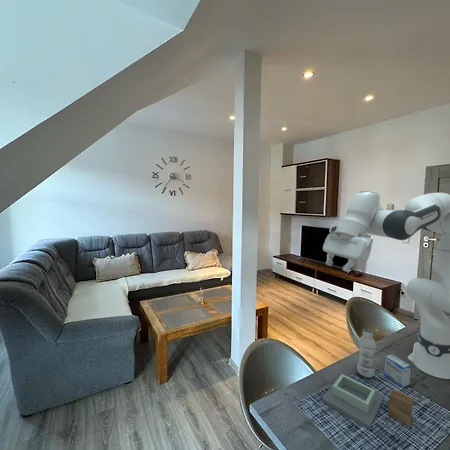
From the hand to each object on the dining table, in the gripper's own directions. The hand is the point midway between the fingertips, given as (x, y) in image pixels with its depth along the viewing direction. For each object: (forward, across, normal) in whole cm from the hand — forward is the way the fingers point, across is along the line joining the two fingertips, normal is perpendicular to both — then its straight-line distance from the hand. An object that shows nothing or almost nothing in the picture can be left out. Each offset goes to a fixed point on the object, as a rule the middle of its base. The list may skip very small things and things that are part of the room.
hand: (336, 268), depth 88 cm
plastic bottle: (+36, +11, -43) cm, 57 cm away
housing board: (+43, +1, -30) cm, 52 cm away
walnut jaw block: (+38, -9, -40) cm, 56 cm away
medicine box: (+32, +6, -52) cm, 62 cm away
